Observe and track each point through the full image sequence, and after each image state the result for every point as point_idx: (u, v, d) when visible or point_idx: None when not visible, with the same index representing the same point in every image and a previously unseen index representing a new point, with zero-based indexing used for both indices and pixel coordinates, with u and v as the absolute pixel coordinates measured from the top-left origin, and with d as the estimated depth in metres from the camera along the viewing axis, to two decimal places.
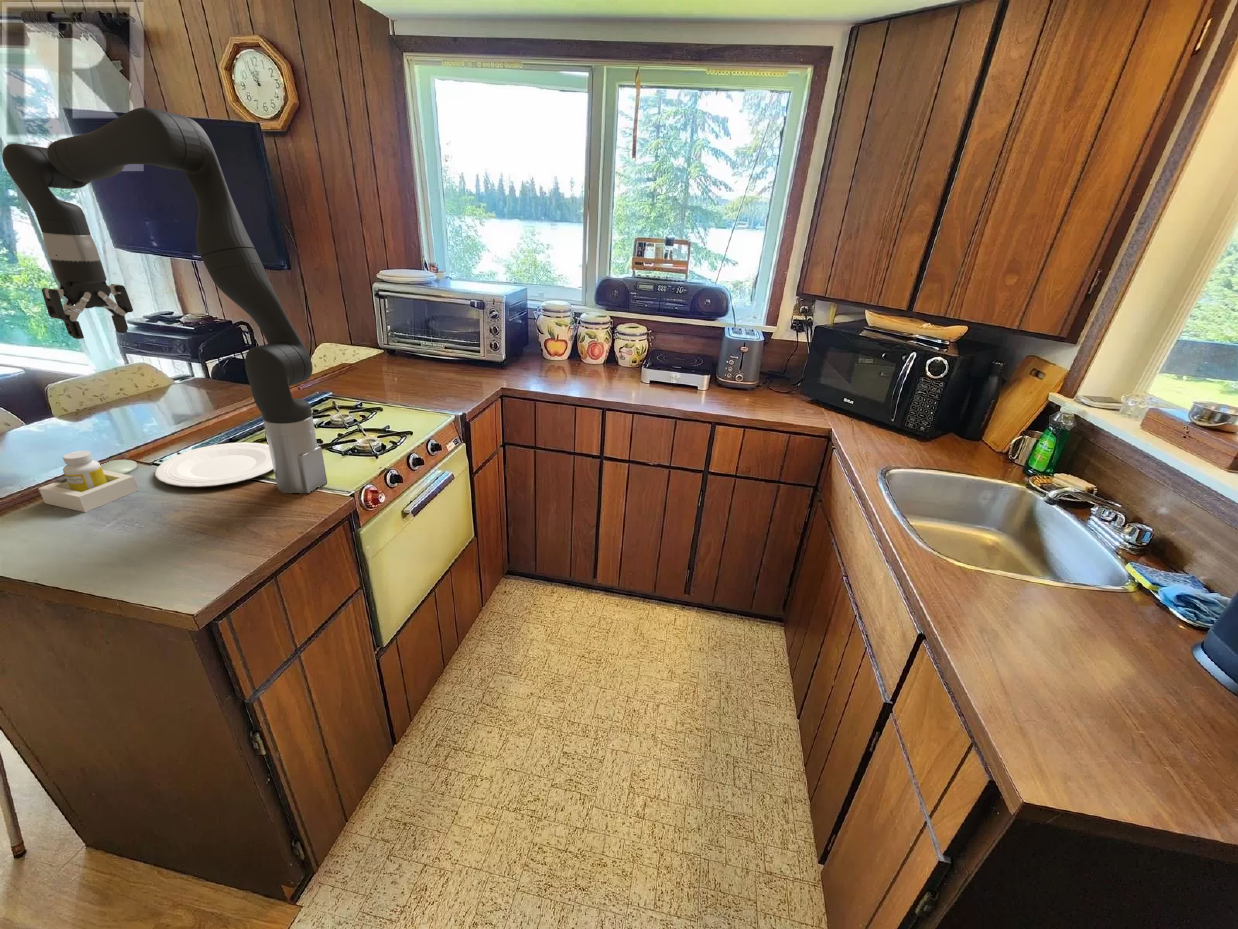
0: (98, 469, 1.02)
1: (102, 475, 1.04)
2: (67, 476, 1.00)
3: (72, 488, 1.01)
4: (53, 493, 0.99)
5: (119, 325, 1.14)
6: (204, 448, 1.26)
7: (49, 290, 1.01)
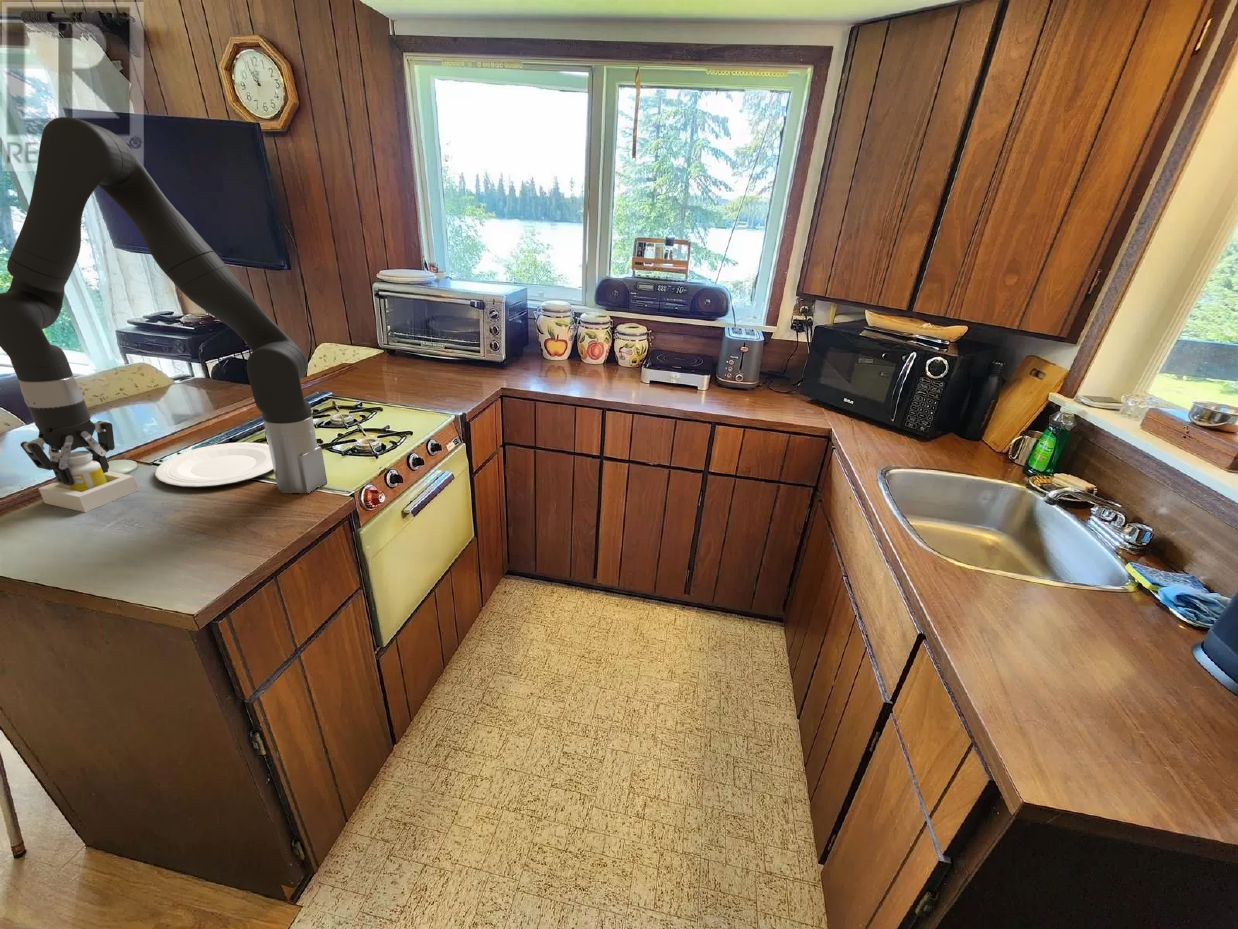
0: (97, 469, 1.02)
1: (102, 475, 1.04)
2: None
3: (72, 488, 1.01)
4: (53, 493, 0.99)
5: None
6: (204, 448, 1.26)
7: (28, 446, 0.92)
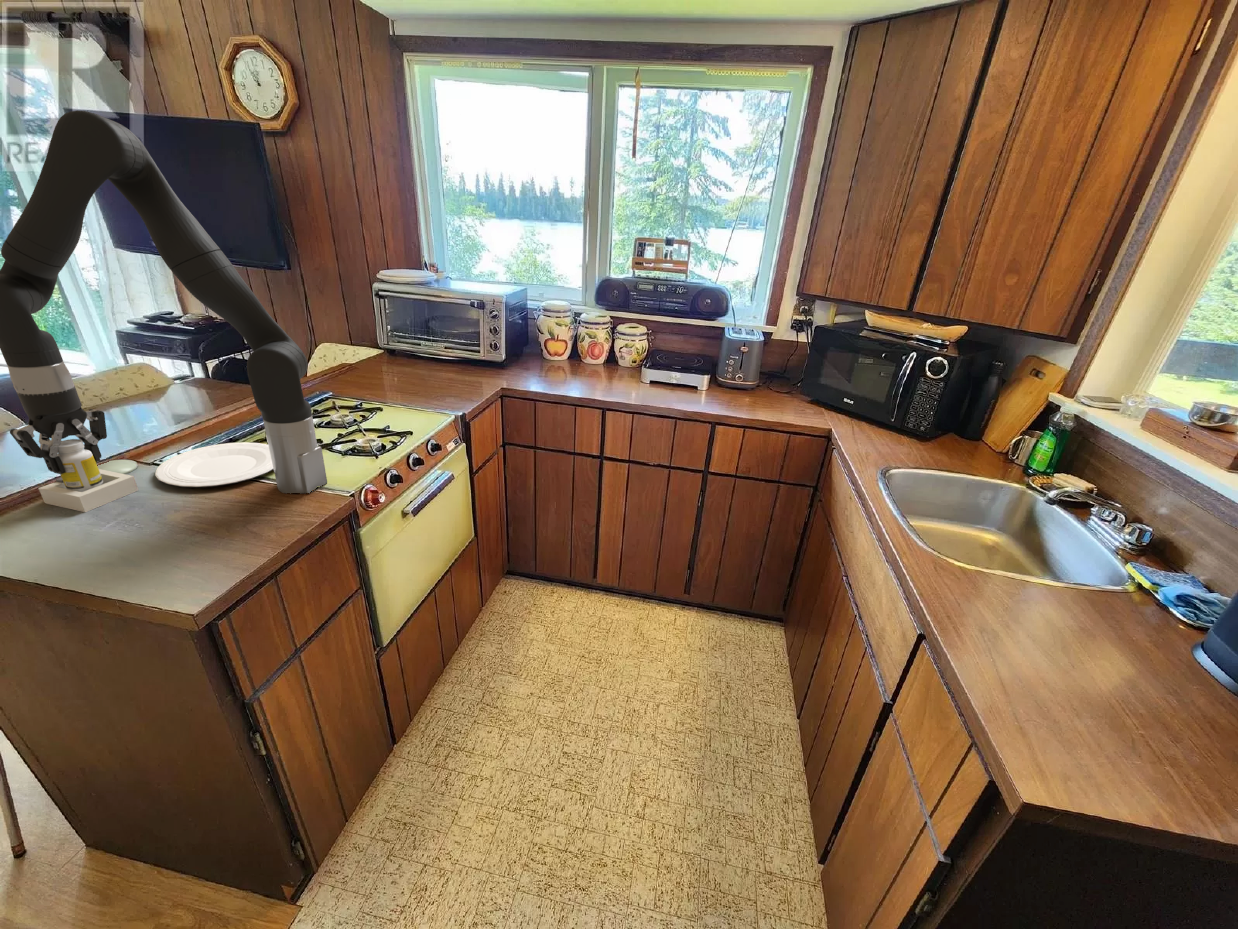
0: (89, 458, 1.01)
1: (94, 464, 1.02)
2: None
3: (63, 477, 0.99)
4: (53, 493, 0.99)
5: None
6: (204, 448, 1.26)
7: (18, 433, 0.91)
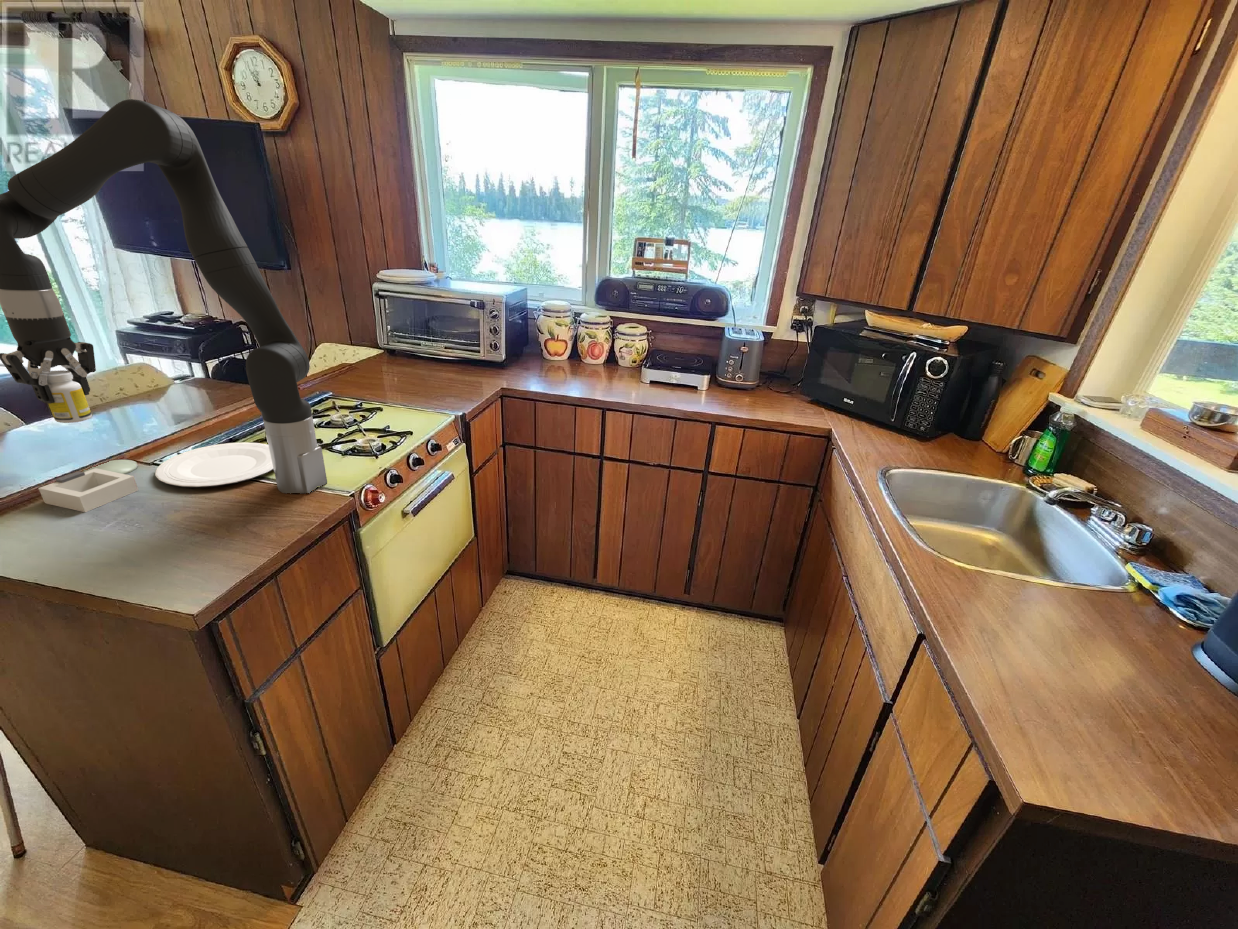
0: (78, 389, 1.01)
1: (83, 396, 1.02)
2: None
3: (52, 407, 0.99)
4: (53, 493, 0.99)
5: None
6: (204, 448, 1.26)
7: (7, 357, 0.91)
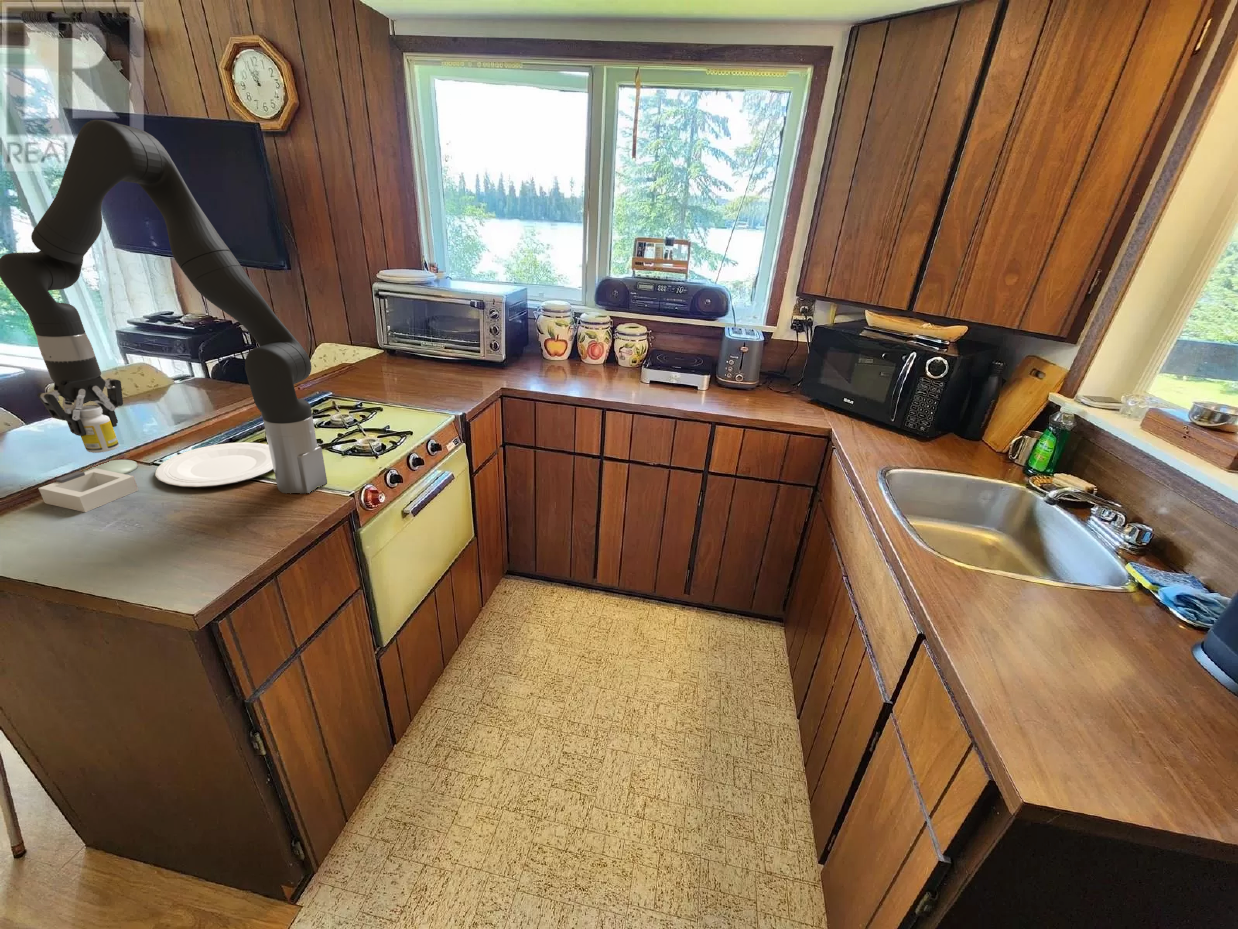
0: (107, 422, 1.10)
1: (111, 428, 1.12)
2: None
3: (84, 439, 1.09)
4: (53, 493, 0.99)
5: None
6: (204, 448, 1.26)
7: (45, 396, 1.00)
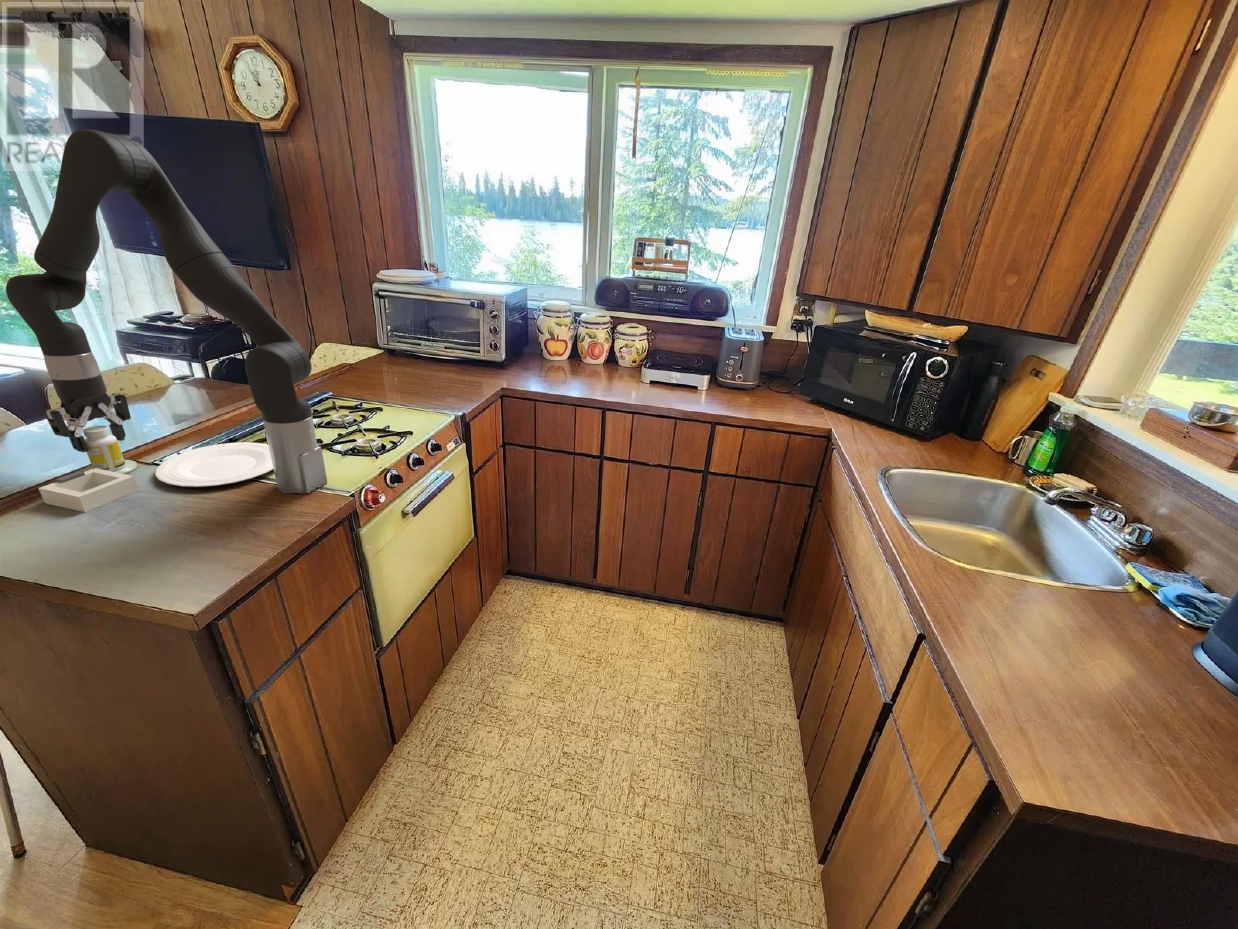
0: (114, 442, 1.12)
1: (118, 448, 1.13)
2: None
3: (91, 459, 1.11)
4: (53, 493, 0.99)
5: (117, 434, 1.14)
6: (204, 448, 1.26)
7: (51, 412, 1.02)
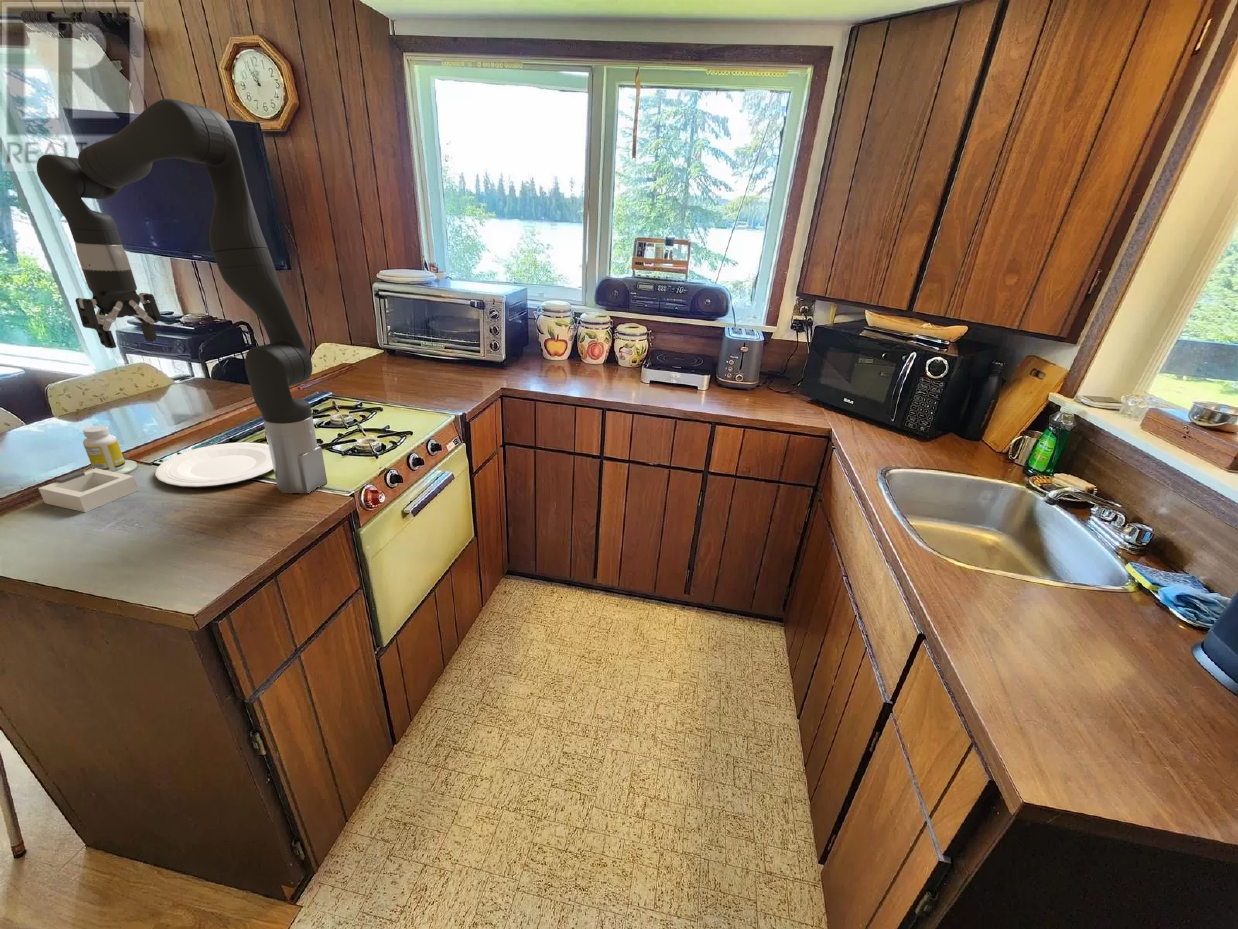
0: (114, 442, 1.12)
1: (118, 448, 1.13)
2: (87, 448, 1.10)
3: (91, 459, 1.11)
4: (53, 493, 0.99)
5: (148, 334, 1.14)
6: (204, 448, 1.26)
7: (83, 300, 1.01)
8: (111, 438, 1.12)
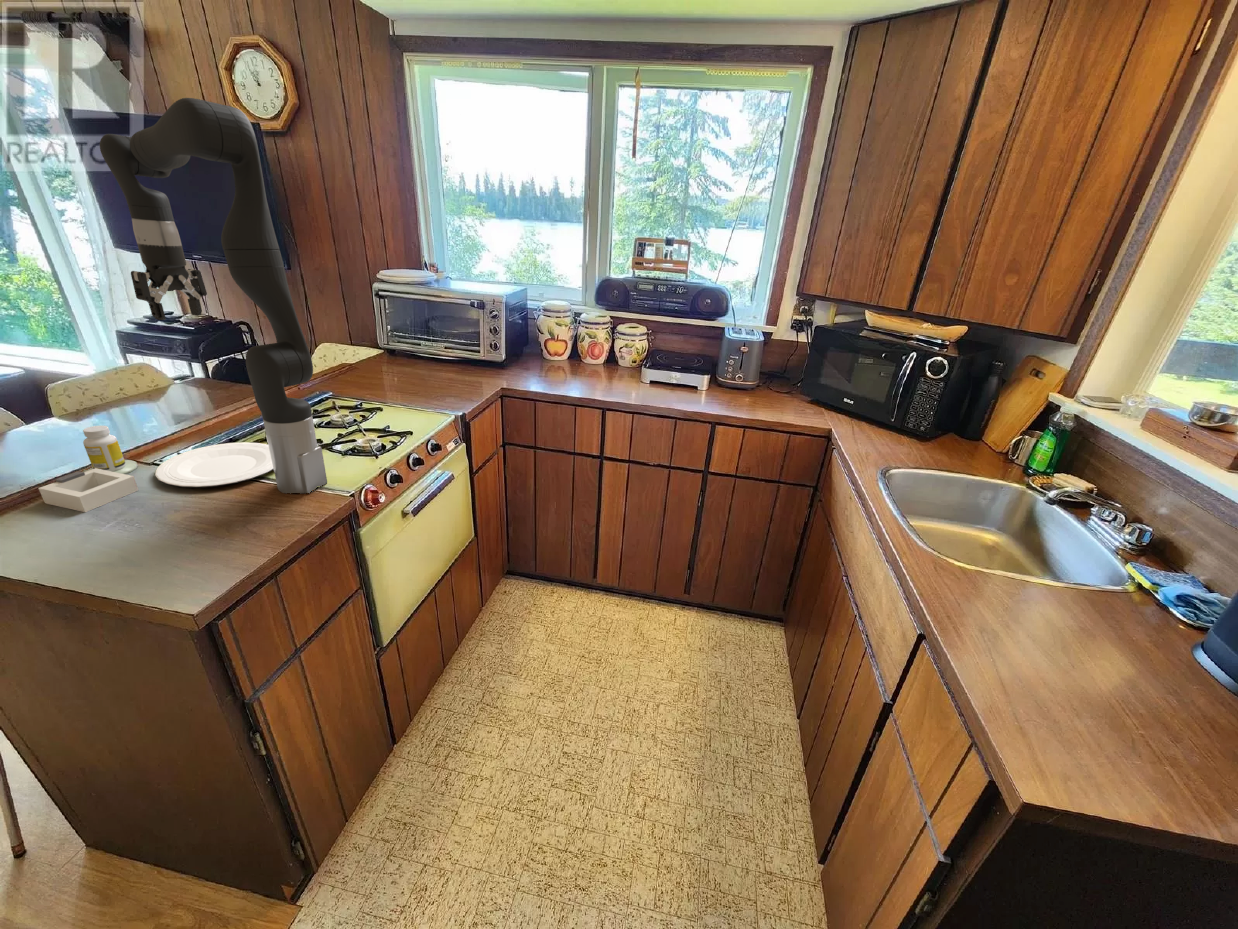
0: (114, 442, 1.12)
1: (118, 448, 1.13)
2: (87, 448, 1.10)
3: (91, 459, 1.11)
4: (53, 493, 0.99)
5: (194, 308, 1.20)
6: (204, 448, 1.26)
7: (138, 273, 1.07)
8: (111, 438, 1.12)
